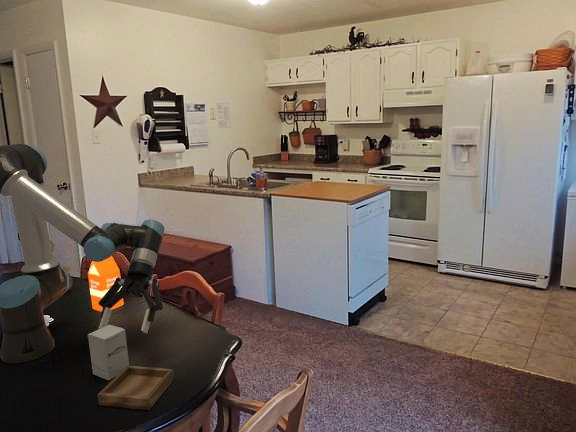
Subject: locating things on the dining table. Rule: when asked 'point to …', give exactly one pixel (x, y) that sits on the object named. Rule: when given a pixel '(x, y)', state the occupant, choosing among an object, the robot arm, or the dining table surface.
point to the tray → (136, 387)
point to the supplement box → (108, 351)
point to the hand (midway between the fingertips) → (122, 331)
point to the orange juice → (102, 281)
